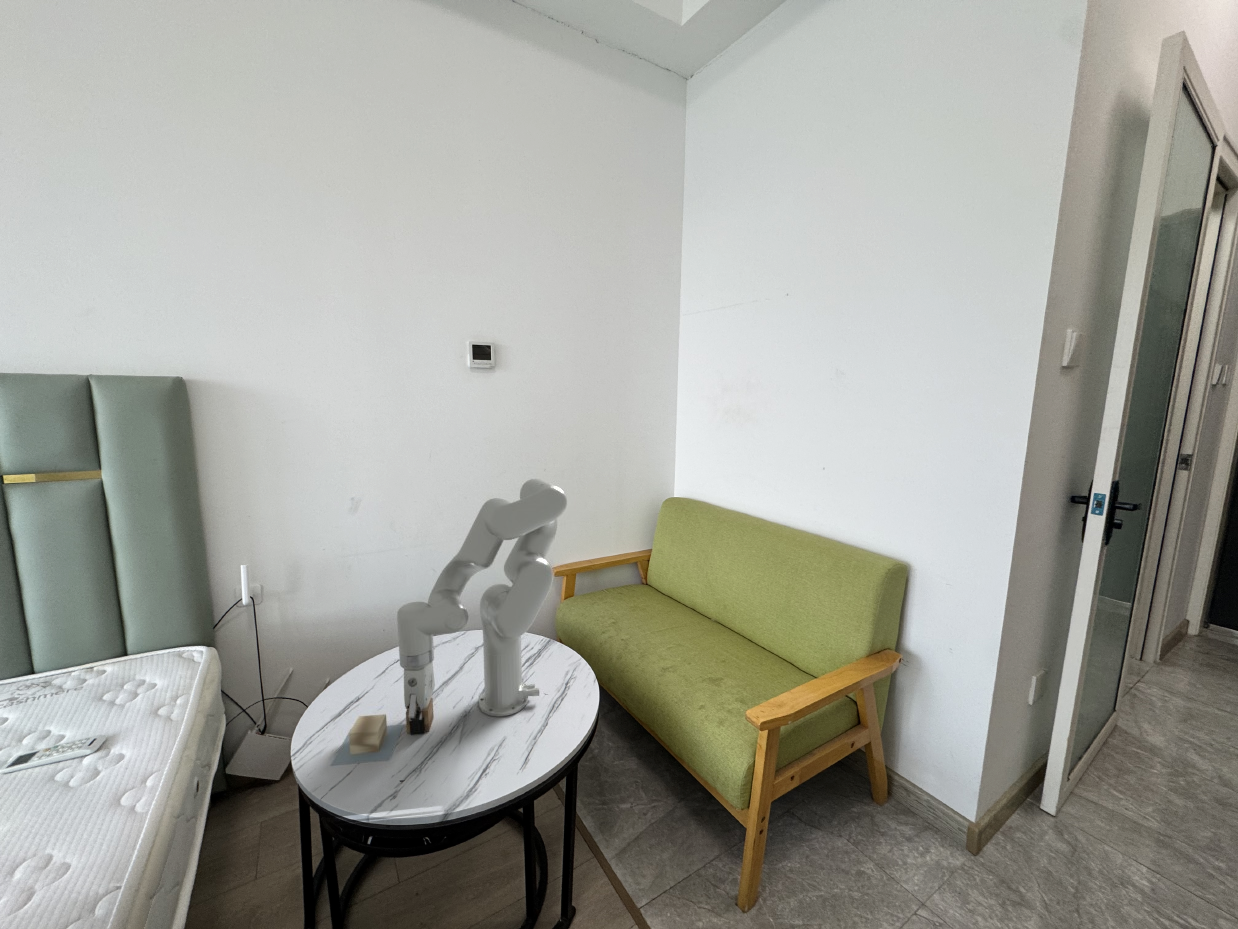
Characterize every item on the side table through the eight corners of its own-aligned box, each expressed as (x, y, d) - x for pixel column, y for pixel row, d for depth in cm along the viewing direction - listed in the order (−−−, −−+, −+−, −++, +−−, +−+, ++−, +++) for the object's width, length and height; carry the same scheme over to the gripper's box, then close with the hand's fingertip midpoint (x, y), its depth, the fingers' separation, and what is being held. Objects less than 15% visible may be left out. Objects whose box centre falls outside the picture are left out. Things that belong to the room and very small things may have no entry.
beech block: (387, 733, 118) (386, 714, 117) (379, 751, 112) (377, 731, 111) (360, 736, 117) (358, 716, 116) (350, 754, 111) (348, 733, 111)
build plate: (404, 726, 121) (404, 724, 121) (389, 762, 110) (389, 760, 110) (351, 731, 120) (351, 728, 120) (330, 768, 108) (330, 765, 108)
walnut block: (433, 720, 124) (432, 697, 123) (429, 733, 119) (428, 710, 118) (412, 722, 123) (411, 699, 122) (407, 735, 118) (405, 712, 117)
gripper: (425, 674, 111) (429, 749, 113) (440, 637, 127) (443, 703, 130) (389, 676, 109) (393, 752, 112) (409, 638, 126) (413, 705, 129)
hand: (420, 725), depth 121 cm, fingers closed on walnut block, 5 cm apart
